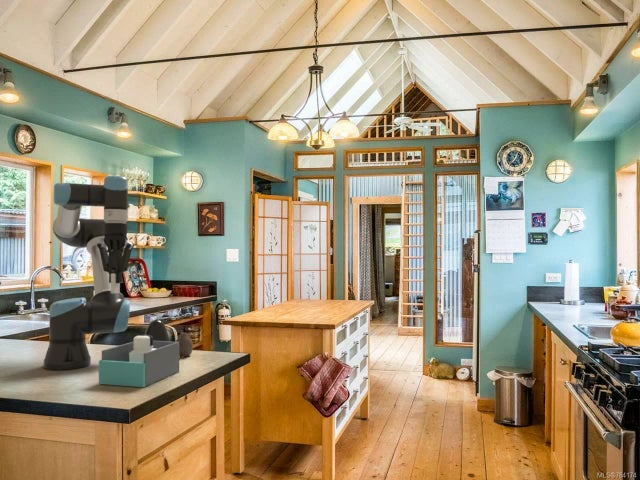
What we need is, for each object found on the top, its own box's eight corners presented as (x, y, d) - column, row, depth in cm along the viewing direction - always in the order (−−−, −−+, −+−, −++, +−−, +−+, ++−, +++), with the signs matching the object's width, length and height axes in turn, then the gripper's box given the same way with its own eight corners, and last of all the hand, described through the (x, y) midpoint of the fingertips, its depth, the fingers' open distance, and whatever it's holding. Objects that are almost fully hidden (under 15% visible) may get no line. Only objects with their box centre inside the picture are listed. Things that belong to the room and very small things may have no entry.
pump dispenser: (176, 359, 202) (177, 318, 202) (157, 365, 193) (157, 322, 193) (155, 357, 206) (155, 317, 207) (135, 362, 197) (135, 320, 197)
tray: (98, 383, 166) (98, 360, 166) (136, 369, 185) (136, 348, 185) (143, 387, 162) (143, 363, 162) (177, 372, 181) (177, 351, 181)
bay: (101, 383, 167) (101, 350, 167) (138, 369, 186) (138, 339, 187) (145, 386, 163) (146, 353, 163) (179, 371, 182) (179, 342, 183)
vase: (186, 358, 204) (186, 335, 205) (170, 357, 207) (170, 333, 207) (196, 354, 211) (196, 332, 211) (181, 353, 213) (181, 331, 213)
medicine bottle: (134, 370, 179) (135, 333, 179) (156, 369, 179) (157, 333, 179) (128, 375, 172) (128, 337, 172) (151, 375, 172) (151, 337, 172)
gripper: (91, 222, 181) (91, 293, 181) (125, 222, 177) (125, 294, 177) (106, 223, 188) (105, 291, 188) (139, 222, 185) (138, 292, 184)
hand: (115, 293), depth 182 cm, fingers closed
